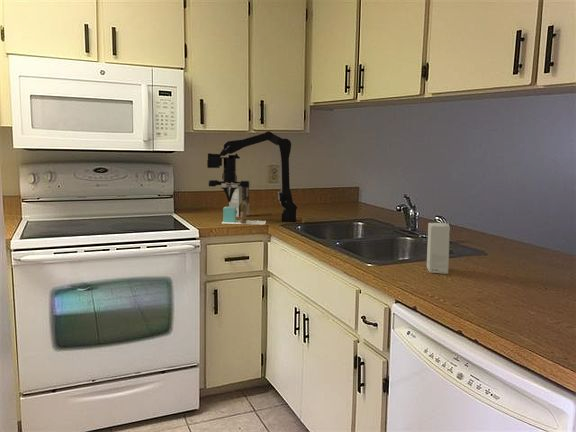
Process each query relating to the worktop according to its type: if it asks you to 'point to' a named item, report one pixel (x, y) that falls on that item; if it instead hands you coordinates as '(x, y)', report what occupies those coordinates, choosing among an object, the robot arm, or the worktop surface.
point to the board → (246, 222)
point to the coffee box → (240, 200)
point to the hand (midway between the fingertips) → (229, 201)
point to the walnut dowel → (243, 217)
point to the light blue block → (229, 214)
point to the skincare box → (438, 248)
